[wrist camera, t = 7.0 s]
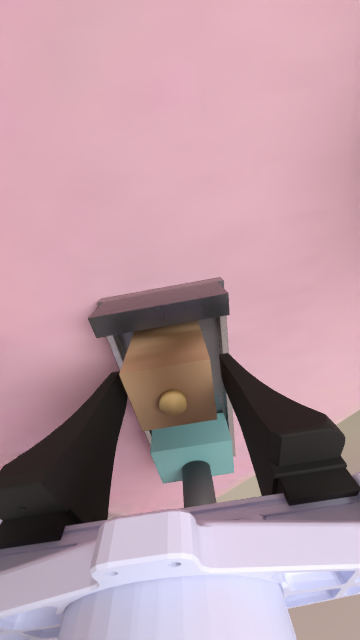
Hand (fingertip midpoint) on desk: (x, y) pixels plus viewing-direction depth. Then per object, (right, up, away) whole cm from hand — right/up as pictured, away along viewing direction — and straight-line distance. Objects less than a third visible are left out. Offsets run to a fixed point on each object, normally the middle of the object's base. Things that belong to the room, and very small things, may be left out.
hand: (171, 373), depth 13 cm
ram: (+2, -10, +9) cm, 13 cm away
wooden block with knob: (0, +2, +3) cm, 4 cm away
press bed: (+1, -3, +7) cm, 8 cm away
